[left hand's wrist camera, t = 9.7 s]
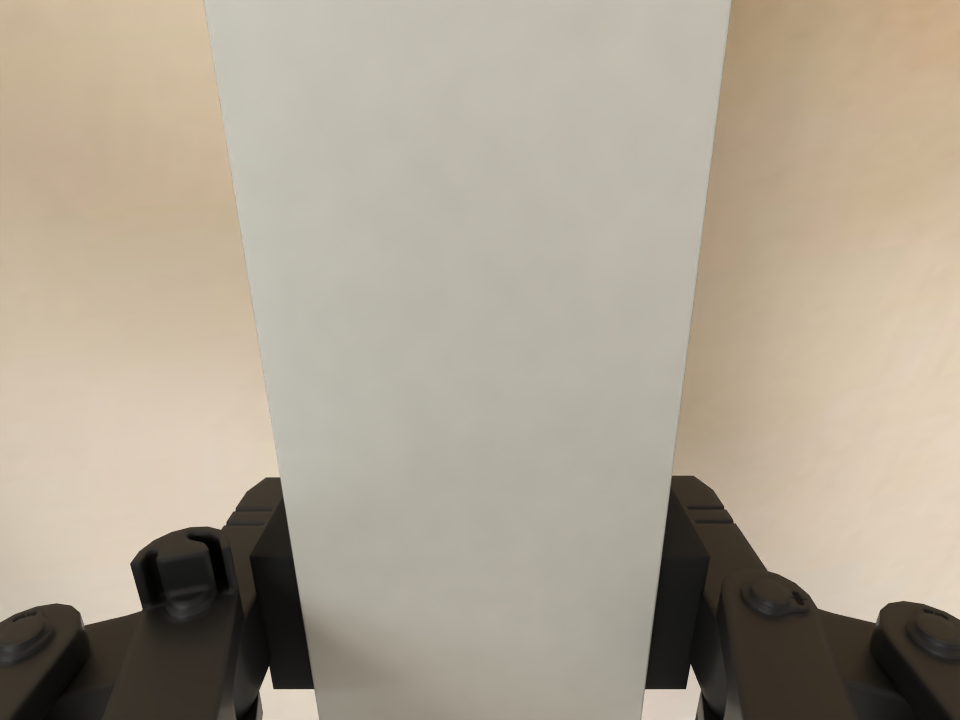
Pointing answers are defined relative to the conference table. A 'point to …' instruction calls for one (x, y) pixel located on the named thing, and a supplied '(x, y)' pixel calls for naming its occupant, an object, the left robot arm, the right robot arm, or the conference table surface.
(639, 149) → the bar
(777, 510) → the conference table surface
